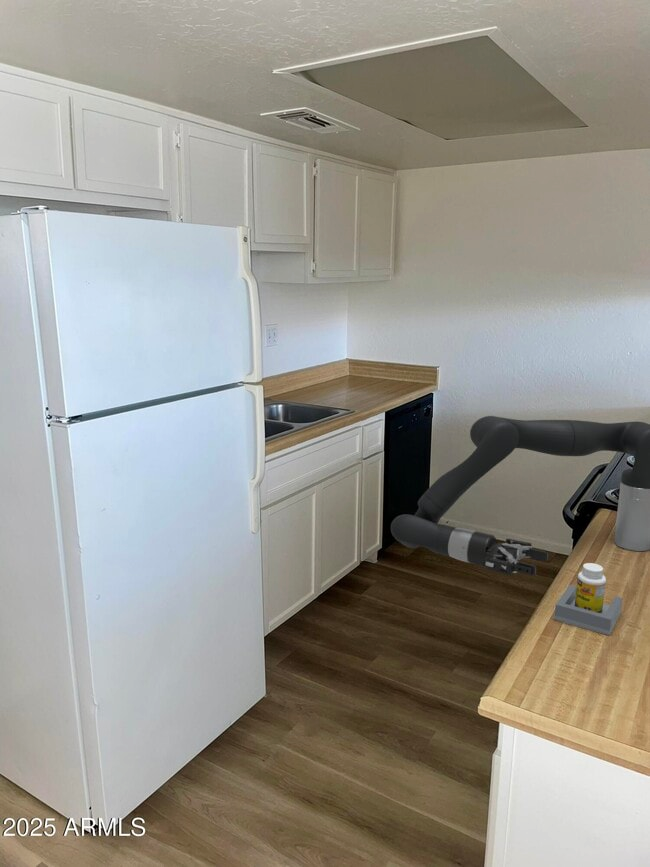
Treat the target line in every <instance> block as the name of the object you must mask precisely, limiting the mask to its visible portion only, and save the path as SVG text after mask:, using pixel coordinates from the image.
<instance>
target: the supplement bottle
mask: <svg viewBox="0 0 650 867" xmlns="http://www.w3.org/2000/svg"><path fill="white" fill-rule="evenodd" d="M576 586H577V588H576V598H575V607H579V608H583V609H586V610H590V611H594V612H597V613H602V610H603V604H604V601H605V595H606V594H605V593H606V587H607V579H606V576H605V575H604V568H603V566H601V565H600V564H597V563H593V562H587V563H583V566H582V570H581V571H580V572H579V573H578V575H577V582H576Z"/></svg>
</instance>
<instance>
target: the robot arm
mask: <svg viewBox="0 0 650 867" xmlns="http://www.w3.org/2000/svg"><path fill="white" fill-rule="evenodd" d="M469 436H470V440H471V442H472V443H473V445H474V446H475V447H476V448H475V450H474V451H473V452H472V453H471V454H470V455H469V456H468V458H466V459H465V460H464V461H462V462H461V463H459V465H457V466H455V467H453V468H451V469H450V470H449V471H447V472H445V473H443V474H442V475H441V476H440V477H439V478H437V479H436V480H435V481H434V482H433V483H432V484H431V486H429V487H428V489H427V490H426V491H425V492H424V493H423V494H422V495H421V497H420V498H419V499H418V501H417V506H418V509H417V511H416V512H415V514H414V515H413V514H408V513H407V514H406V513H405V514H401V515H398V516H396V517H395V518H394V519H393V520H392V521H391V523H390V532H391V535H392V536H393V537H394V539H395V540H396V541H398V542H399V543H401V544H402V545H403V546H405V547H407V548H409V549H417V548H420V547H422V548H425V549H428V550H430V551H431V552H432V553H436V554H439V555H441V556H442V555H443V556H446V557H450V558H453V559H456V560H458V561H462V562H465V563H468V564H472V565H475V566H480V567H484V568H485V569H486V570H489V571H492V572H496V573H500V574H504V575H507V576H511V575H512V573H514V574H517V573H520V574H525V575H528V576H532V577H533V576H535V575H536V574H537V566H536V565H535V564H531V563H527V562H523V561H521V560H522V559H532V560H536V561H540V562H545V563H546V562H548V559H549V552H548V551H545V550H541V549H536V548H533V547H532V543H531V542H526V541H523V540H517V539H512V538H506V539H505V542H504V543H503V542H498V541H497V538H496V537H495V535H493V534H490V533H486V532H482V531H476V530H473V529H469V528H460V527H454V526H451V525H446V524H440V523H439V522H440V520H441V519H442V517H444V515H445V514H447V512H448V511H450V508H452V507H453V505H454V504H455V503H457V501H458V500H459V499H460V498H461V497H462V496H463V494H465V493H466V492H467V490H469V489H471V487H472V486H474V484H476V483H477V482H478V481H479V480H480V479H481V478H483V477H484V476H485V475H486V474H488V472H490V471H491V470H492V469H493V468H494V467H496V466H497V465H498V464H500V463H501V462H502V461H504V460H505V459H506V458H507V457H508V456H509V455H511V454H512V452H514V451H515V449H523V450H528V451H533V452H537V453H540V454H541V453H542V454H544V455H545V454H546V455H550V456H551V455H552V456H556V457H557V456H558V457H583V456H584V457H585V456H589V455H592V454H594V453H598V452H601V451H602V452H604V451H606V452H607V451H608V452H617V453H623V454H626V455H630V456H632V457H634V461H633V465H632V468H628V469H624V470H623V471H622V472H621V476H620V477H621V478H620V486H619V496H618V504H617V512H616V513H617V515H616V520H615V531H614V537H613V538H614V541H613V542H614V544H615V545H616V546H618V547H620V548H623V549H625V550H628V551H629V550H630V551H634V552H646V551H649V550H650V423H647V422H644V421H624V422H610V423H608V422H607V423H606V422H605V423H604V422H597V421H590V420H579V419H578V420H576V419H575V420H574V419H531V420H530V419H529V420H528V419H526V420H524V419H514V418H513V419H512V418H508V417H501V416H495V415H486V416H483V417H481V418H479V419H477V420H476V421H475V422H474V423H473V424H472V426H471V427H470V431H469Z"/></svg>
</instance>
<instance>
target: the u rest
mask: <svg viewBox="0 0 650 867" xmlns="http://www.w3.org/2000/svg"><path fill="white" fill-rule="evenodd" d="M576 588H577V585H573V584H572V585H571V584H569V586H568V587H567V588H566V589H565V591H564V592H563V593H562V595H561V596H560V598H559V599H558V601H556V603H555V605H554V607H555V608H554V617H553V618H554V620H555V621H558V622H561V623H565V624H568V625H572V626H575V627H579V628H582V629H586V630H588V631H593V632H597V633H600V634H603V635H606V636H611V633H612V631H613V629H614V627H615V626H616V623H617V622H618V620H619V618H620V616H621V614H622V606H623V598H622V597H620V596H616V595H615V596H614V598H613V600H612V601H611V603H610V605H608V604H605V603H603V610H602V613H597V612H594V611H590V610H586V609H583V608H579V607H575V598H576Z"/></svg>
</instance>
